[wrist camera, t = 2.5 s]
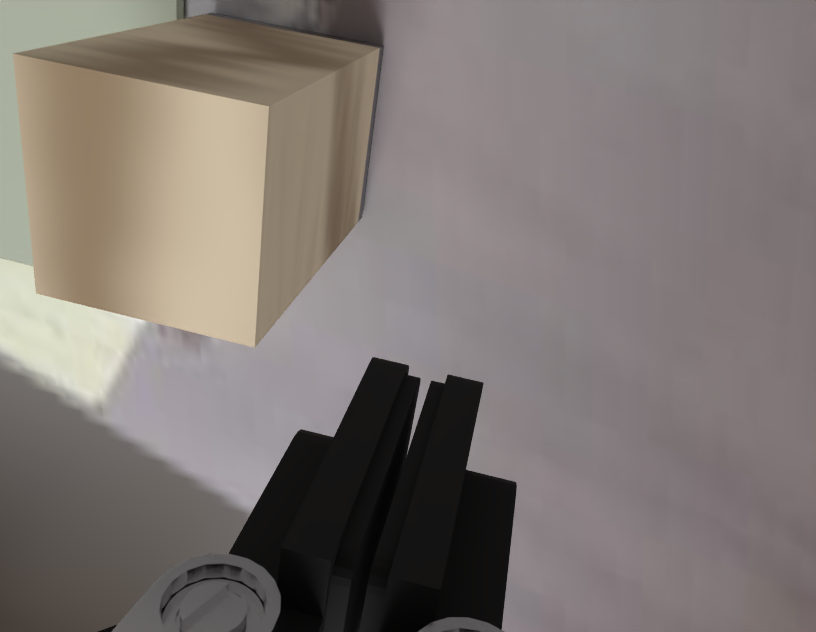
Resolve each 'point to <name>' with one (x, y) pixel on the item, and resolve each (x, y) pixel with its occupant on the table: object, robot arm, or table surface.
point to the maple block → (194, 167)
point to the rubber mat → (4, 35)
